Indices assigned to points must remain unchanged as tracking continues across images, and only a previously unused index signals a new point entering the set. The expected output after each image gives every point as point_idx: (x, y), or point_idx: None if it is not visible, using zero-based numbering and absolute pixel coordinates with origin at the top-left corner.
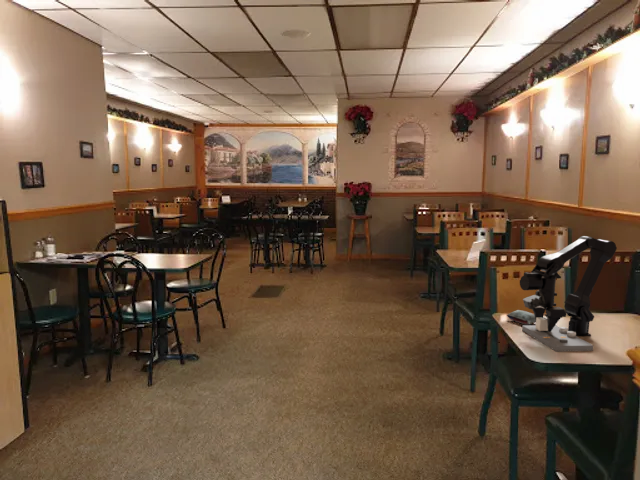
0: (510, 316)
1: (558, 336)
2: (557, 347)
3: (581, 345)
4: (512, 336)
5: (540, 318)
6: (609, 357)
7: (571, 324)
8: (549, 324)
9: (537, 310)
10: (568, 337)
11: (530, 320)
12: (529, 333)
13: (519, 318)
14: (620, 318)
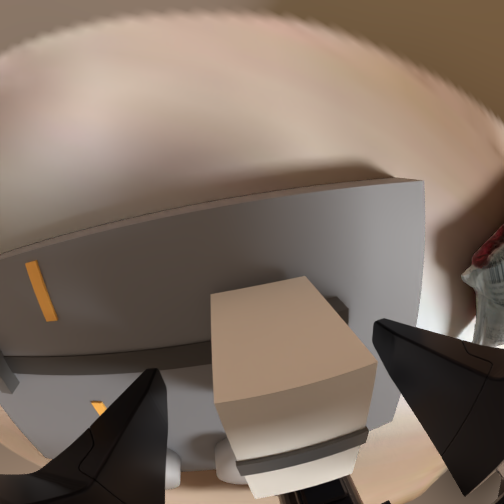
0: None
1: (115, 397)
2: None
3: (11, 418)
4: (204, 18)
5: (305, 414)
6: (16, 439)
7: (314, 495)
8: (94, 427)
9: (497, 418)
10: None
11: (486, 296)
12: (274, 192)
13: None
14: (407, 495)
